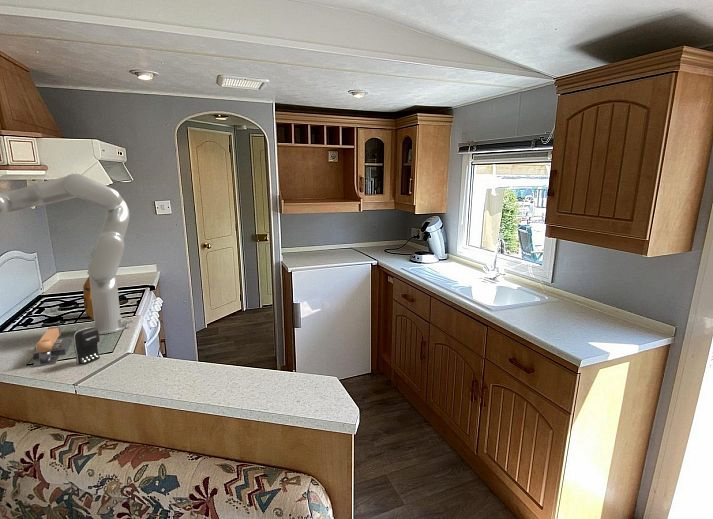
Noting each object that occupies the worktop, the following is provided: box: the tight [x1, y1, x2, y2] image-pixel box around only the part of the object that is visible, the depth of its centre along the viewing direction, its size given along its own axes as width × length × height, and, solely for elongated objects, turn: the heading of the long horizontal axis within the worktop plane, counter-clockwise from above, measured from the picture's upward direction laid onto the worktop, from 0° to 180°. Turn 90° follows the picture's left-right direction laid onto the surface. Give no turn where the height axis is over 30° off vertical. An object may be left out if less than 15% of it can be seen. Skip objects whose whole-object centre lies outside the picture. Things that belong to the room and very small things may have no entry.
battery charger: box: [72, 327, 101, 366], centre depth 129 cm, size 7×4×11 cm, turn 161°
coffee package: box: [82, 276, 94, 320], centre depth 183 cm, size 10×12×22 cm
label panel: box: [32, 336, 73, 361], centre depth 141 cm, size 9×15×2 cm, turn 29°
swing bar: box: [35, 325, 62, 353], centre depth 136 cm, size 4×20×3 cm, turn 29°
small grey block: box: [32, 350, 60, 368], centre depth 129 cm, size 6×6×4 cm
